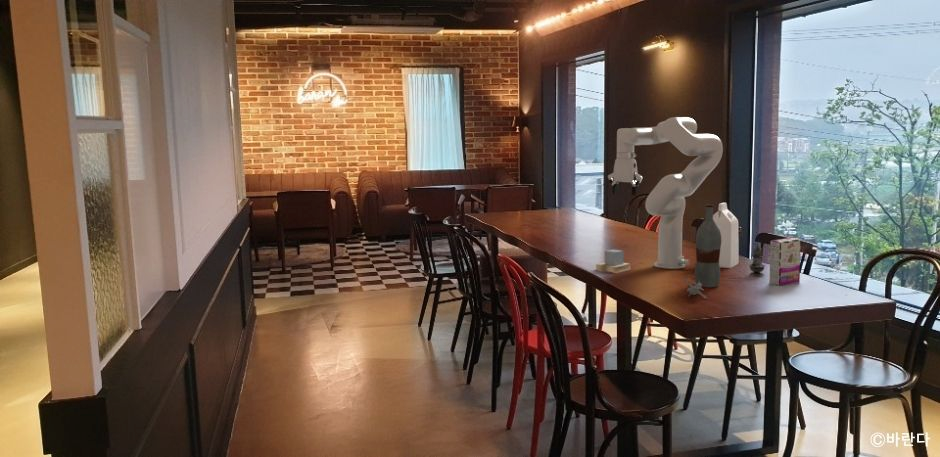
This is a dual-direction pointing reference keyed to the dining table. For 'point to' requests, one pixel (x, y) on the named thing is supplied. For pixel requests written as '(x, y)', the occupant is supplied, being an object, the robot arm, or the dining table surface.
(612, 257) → the slate cube
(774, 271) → the candy bar box
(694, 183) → the robot arm
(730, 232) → the milk
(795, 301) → the dining table surface
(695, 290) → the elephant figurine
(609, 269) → the beech block
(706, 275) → the bottle
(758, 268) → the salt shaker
